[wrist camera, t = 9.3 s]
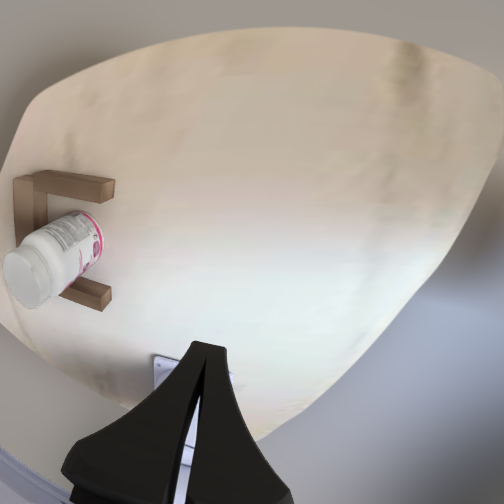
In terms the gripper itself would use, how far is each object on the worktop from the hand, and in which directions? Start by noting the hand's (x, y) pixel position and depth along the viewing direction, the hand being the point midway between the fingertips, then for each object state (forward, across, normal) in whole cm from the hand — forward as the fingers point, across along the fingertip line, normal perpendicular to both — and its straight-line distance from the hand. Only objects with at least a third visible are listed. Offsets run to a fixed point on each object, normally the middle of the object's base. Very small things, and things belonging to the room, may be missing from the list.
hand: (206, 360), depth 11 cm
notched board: (+10, +15, +1) cm, 18 cm away
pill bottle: (+11, +13, +1) cm, 17 cm away
